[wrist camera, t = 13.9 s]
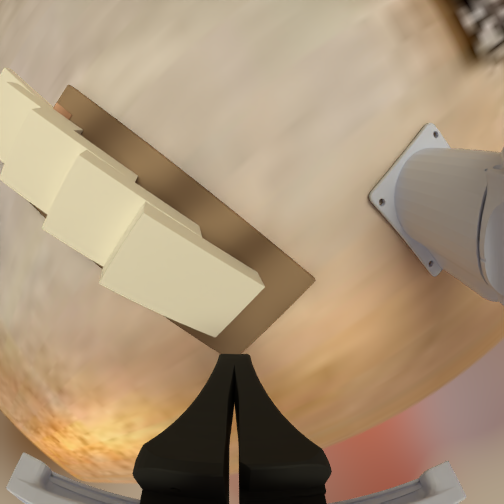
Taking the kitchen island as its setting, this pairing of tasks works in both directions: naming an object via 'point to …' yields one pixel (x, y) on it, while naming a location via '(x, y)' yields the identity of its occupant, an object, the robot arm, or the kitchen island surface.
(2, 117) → the domino
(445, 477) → the robot arm
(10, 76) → the domino
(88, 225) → the domino
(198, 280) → the domino
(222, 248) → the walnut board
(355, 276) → the kitchen island surface
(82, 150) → the domino
